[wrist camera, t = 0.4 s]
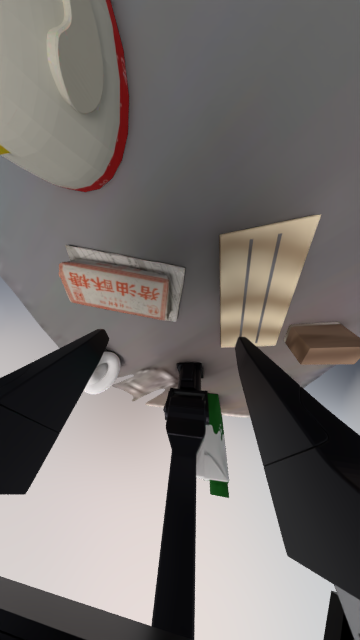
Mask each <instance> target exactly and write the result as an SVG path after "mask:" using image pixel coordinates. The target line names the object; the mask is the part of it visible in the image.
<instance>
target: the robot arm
mask: <svg viewBox="0 0 360 640" xmlns="http://www.w3.org/2000/svg"><path fill="white" fill-rule="evenodd" d="M108 341H109V337H108V335H107V333H106V331H105V330H104V329H97V330H95V331H93V332H91V333H89V334H87V335H85V336H83V337H81V338H79V339H77V340H75V341H73V342H71V343H69V344H68V345H66V346H64V347H62V348H60V349H58V350H56V351H54V352H52V353H50V354H48V355H46V356H44V357H42V358H40V359H38V360H36V361H34V362H32V363H30V364H28V365H26V366H24V367H22V368H20V369H18V370H16V371H14V372H12V373H10V374H8V375H6V376H4V377H2V378H0V494H26V492H27V491H28V489H29V487H30V486H31V484H32V482H33V480H34V478H35V477H36V474H37V473H38V471H39V470H40V468H41V466H42V464H43V462H44V461H45V459H46V457H47V455H48V453H49V452H50V450H51V448H52V446H53V444H54V443H55V441H56V439H57V437H58V435H59V433H60V432H61V430H62V428H63V426H64V424H65V423H66V421H67V419H68V417H69V415H70V414H71V412H72V410H73V408H74V407H75V404H76V403H77V401H78V399H79V398H80V396H81V394H82V392H83V390H84V389H85V387H86V385H87V383H88V381H89V380H90V378H91V376H92V374H93V372H94V371H95V369H96V367H97V365H98V364H99V362H100V360H101V358H102V355H103V353H104V351H105V348H106V346H107V344H108ZM235 351H236V358H237V365H238V371H239V376H240V380H241V383H242V387H243V391H244V395H245V398H246V402H247V406H248V410H249V413H250V417H251V421H252V425H253V428H254V432H255V436H256V439H257V444H258V447H259V451H260V455H261V458H262V462H263V466H264V470H265V474H266V478H267V482H268V485H269V489H270V493H271V496H272V500H273V504H274V508H275V511H276V515H277V519H278V523H279V527H280V531H281V534H282V538H283V542H284V545H285V549H286V552H287V555H288V556H289V557H290V558H292V559H293V560H295V561H297V562H299V563H300V564H302V565H303V566H305V567H306V568H308V569H310V570H311V571H313V572H315V573H316V574H318V575H320V576H321V577H323V578H324V579H326V580H328V581H329V582H331V583H333V584H334V586H335V589H336V591H337V592H334V591H331V597H330V603H329V609H328V615H327V621H326V627H325V634H324V640H360V435H358V434H357V433H356V432H355V431H353V430H352V429H351V428H350V427H348V426H347V425H346V424H345V423H343V422H342V421H341V420H340V419H338V418H337V417H336V416H335V415H334V414H332V413H331V412H330V411H329V410H327V409H326V408H325V407H324V406H323V405H321V404H320V403H319V402H318V401H317V400H316V399H315V398H313V397H312V396H311V395H310V394H309V393H308V392H307V391H306V390H304V389H303V388H302V387H300V385H299V384H298V383H297V382H295V381H294V380H293V379H292V378H291V377H290V376H289V375H288V374H286V373H285V372H284V371H283V370H282V369H281V368H280V367H279V366H278V365H276V364H275V363H274V362H273V361H272V360H271V359H270V358H269V357H268V356H266V355H265V354H264V353H263V352H262V351H261V350H260V349H259V348H258V347H256V346H255V345H254V344H253V343H252V342H251V341H250V340H249V339H247V338H246V337H238V339H237V342H236V345H235ZM177 368H178V371H179V381H178V389H175V388H170V391H169V393H168V398H167V401H166V403H165V406H164V412H165V420H167V422H166V430H167V434H168V438H169V441H170V445H171V448H172V455H171V464H170V473H169V481H168V490H167V499H166V507H165V515H164V524H163V533H162V541H161V550H160V559H159V567H158V575H157V584H156V592H155V601H154V610H153V618H152V626H149V625H146V624H142V623H140V622H136V621H133V620H131V619H128V618H124V617H121V616H118V615H115V614H112V613H109V612H106V611H103V610H100V609H97V608H94V607H91V606H88V605H85V604H82V603H79V602H76V601H73V600H70V599H67V598H64V597H61V596H58V595H55V594H52V593H49V592H45V591H43V590H40V589H36V588H34V587H30V586H27V585H25V584H22V583H19V582H16V581H12V580H10V579H6V578H4V577H0V640H194V617H195V610H194V609H195V537H196V535H195V534H196V457H197V455H198V452H199V450H200V448H201V446H202V444H203V441H204V439H205V434H206V425H209V405H208V393H207V391H201V378H203V371H202V364H201V363H177Z"/></svg>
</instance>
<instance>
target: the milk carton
mask: <svg viewBox="0 0 360 640" xmlns="http://www.w3.org/2000/svg"><path fill="white" fill-rule="evenodd" d="M208 405H209V425H206V434H205V439H204V441H203V444H202V446H201V448H200V450H199V452H198V455H197V457H196V478H201V479H203V480H207V481H210V494H212V495H217V496H222V497H227V498H229V493H228V482H229V477H228V467H227V457H226V448H225V440H224V430H223V422H222V414H221V408H220V403H219V398H218V394H208Z"/></svg>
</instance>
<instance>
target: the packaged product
mask: <svg viewBox="0 0 360 640" xmlns="http://www.w3.org/2000/svg"><path fill="white" fill-rule="evenodd" d="M66 249H67V252H68V255H69V258H70V261H68V262H62V263H60V264H59V277H60V278H61V279H62V283H63V284H64V287H65V290H66V293H67V295H68V297H69V299H70V301H71V302H72V303H78V304H82V305H87V306H92V307H97V308H102V309H108V310H112V311H118V312H122V313H128V314H133V315H138V316H143V317H150V318H154V319H158V320H164V321H165V320H168V321H173V322H176V320H177V316H178V310H179V303H180V299H181V294H182V289H183V284H184V274H185V268H183V267H179V266H175V265H170V264H165V263H160V262H151V261H146V260H142V259H137V258H133V257H128V256H124V255H120V254H115V253H106V252H101V251H97V250H93V249H88V248H81V247H73V246H69V245H66Z"/></svg>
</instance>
